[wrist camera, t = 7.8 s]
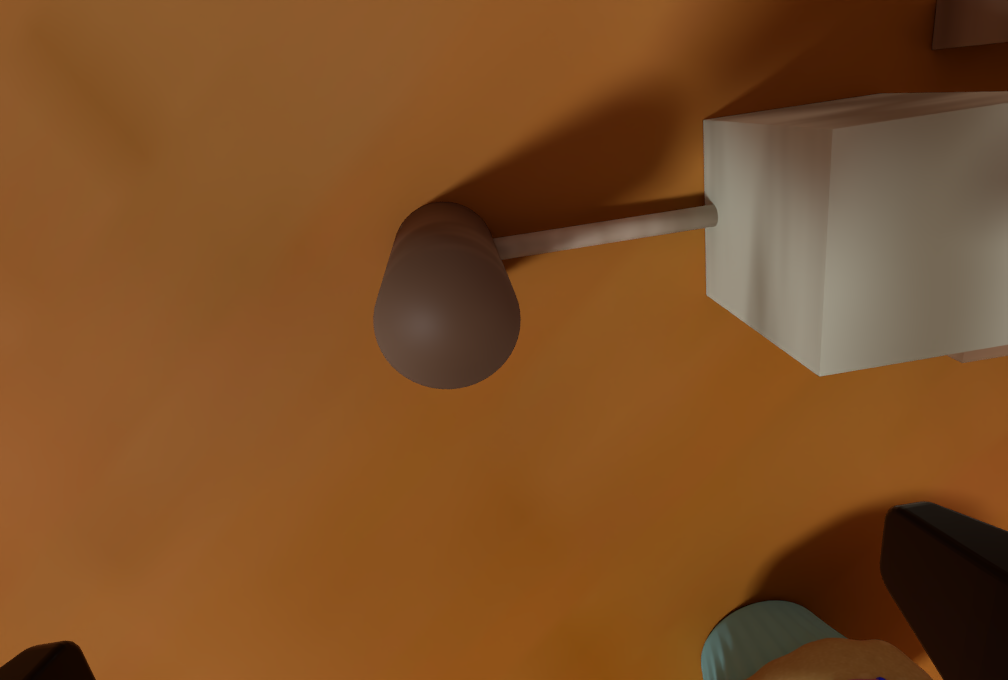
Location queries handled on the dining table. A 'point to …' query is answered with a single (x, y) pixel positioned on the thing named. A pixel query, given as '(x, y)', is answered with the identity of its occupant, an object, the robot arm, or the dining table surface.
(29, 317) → the dining table surface
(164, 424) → the dining table surface
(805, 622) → the cupcake
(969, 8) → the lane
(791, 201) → the block with cord
